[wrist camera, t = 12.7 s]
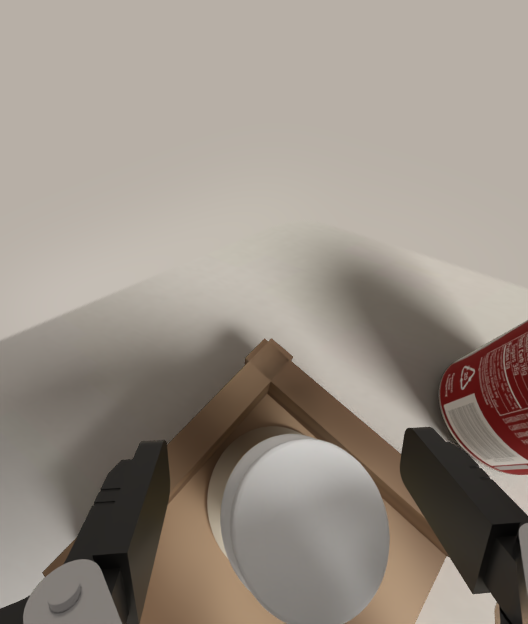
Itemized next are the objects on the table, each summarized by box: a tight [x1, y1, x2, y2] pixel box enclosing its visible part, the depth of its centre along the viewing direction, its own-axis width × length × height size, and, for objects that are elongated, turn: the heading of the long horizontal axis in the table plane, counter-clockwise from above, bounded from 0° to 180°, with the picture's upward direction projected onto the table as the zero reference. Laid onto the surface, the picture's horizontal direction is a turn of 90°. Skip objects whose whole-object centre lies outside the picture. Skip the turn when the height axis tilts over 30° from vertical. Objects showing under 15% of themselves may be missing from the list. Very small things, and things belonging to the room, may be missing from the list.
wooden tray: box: [42, 339, 449, 624], centre depth 14 cm, size 13×13×4 cm
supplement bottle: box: [220, 434, 390, 624], centre depth 12 cm, size 5×5×8 cm
